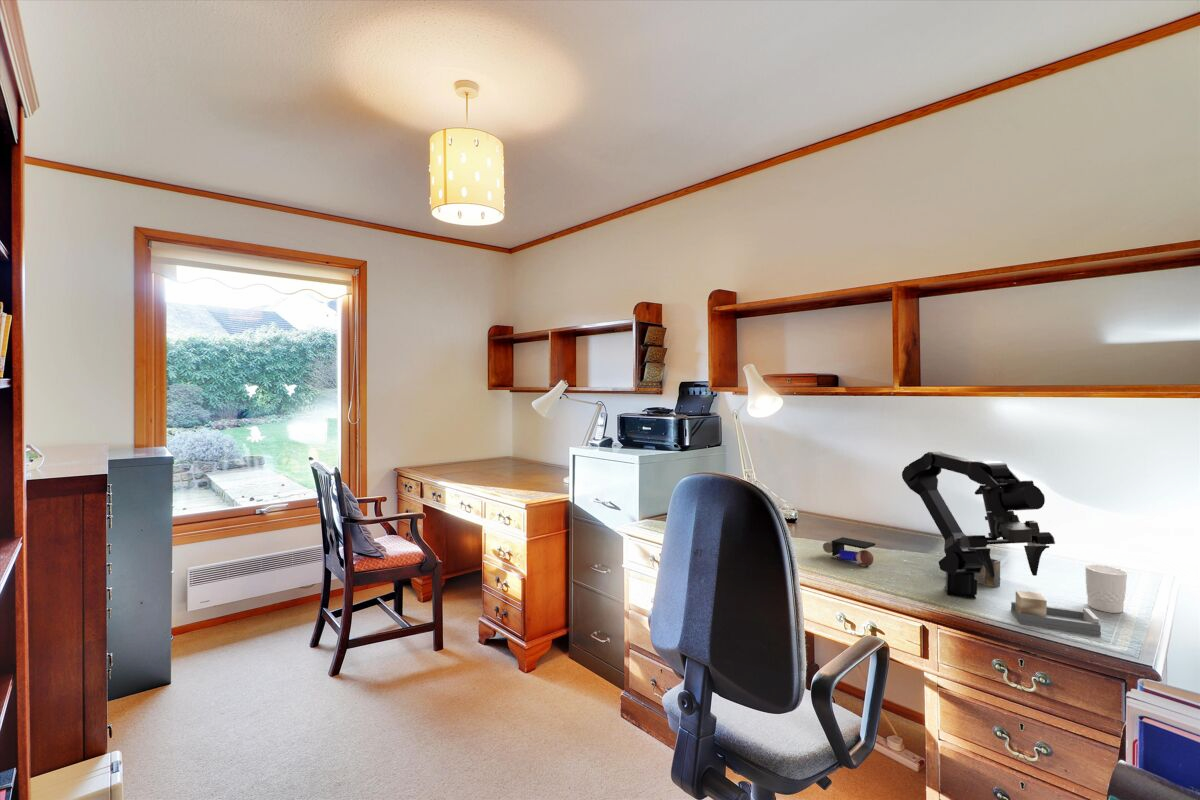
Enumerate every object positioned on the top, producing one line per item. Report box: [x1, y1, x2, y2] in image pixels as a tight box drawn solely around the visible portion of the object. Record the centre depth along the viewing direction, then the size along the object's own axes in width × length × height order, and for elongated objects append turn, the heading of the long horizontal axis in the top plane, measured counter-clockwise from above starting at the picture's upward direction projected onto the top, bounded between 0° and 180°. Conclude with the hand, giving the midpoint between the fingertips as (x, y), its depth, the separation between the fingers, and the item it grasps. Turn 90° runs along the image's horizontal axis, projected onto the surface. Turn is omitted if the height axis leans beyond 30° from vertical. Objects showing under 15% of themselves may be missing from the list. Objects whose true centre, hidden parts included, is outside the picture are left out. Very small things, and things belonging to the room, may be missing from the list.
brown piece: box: [974, 558, 1001, 589], centre depth 162 cm, size 11×3×10 cm, turn 26°
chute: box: [1010, 600, 1102, 637], centre depth 134 cm, size 15×9×3 cm, turn 65°
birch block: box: [1014, 590, 1048, 616], centre depth 135 cm, size 5×5×5 cm
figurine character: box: [822, 536, 876, 567], centre depth 180 cm, size 7×8×15 cm
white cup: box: [1084, 563, 1128, 614], centre depth 142 cm, size 8×8×10 cm
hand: (1013, 576), depth 136 cm, fingers open, 9 cm apart
